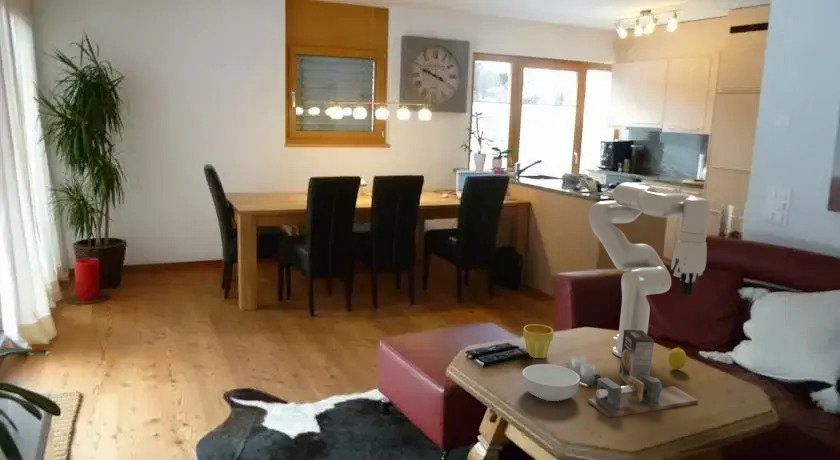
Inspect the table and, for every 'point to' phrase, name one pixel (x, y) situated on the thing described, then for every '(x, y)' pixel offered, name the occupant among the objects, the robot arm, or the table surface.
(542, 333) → the plant pot
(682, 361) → the lemon
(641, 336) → the coffee box
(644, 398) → the shaft frame
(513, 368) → the table surface
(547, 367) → the cereal bowl
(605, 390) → the shaft
